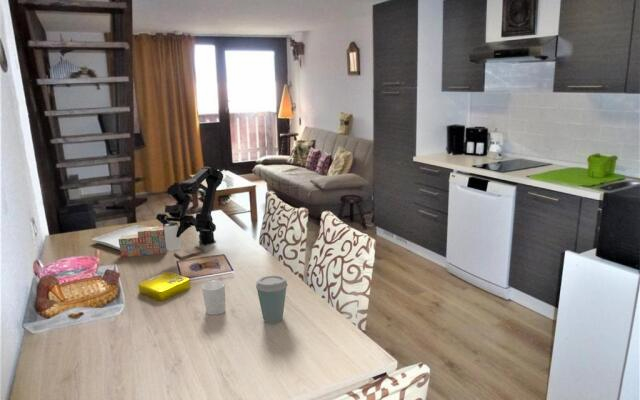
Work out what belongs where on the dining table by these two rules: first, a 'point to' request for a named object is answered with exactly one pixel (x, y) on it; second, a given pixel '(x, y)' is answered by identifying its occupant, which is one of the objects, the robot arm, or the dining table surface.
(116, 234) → the square plate
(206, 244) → the robot arm
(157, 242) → the stack of blocks
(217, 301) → the white cup
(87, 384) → the dining table surface
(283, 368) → the dining table surface
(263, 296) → the disposable coffee cup
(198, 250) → the tan flat board
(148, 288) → the element tile
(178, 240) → the can
